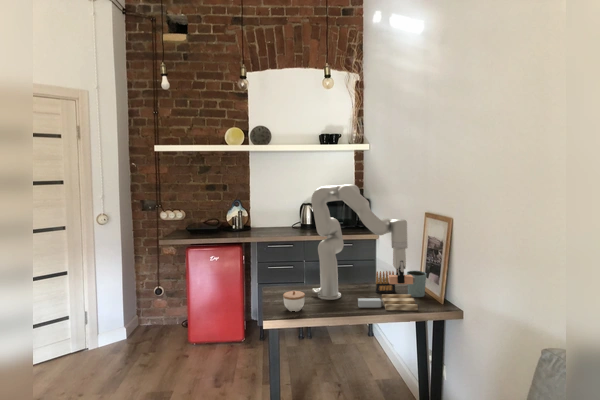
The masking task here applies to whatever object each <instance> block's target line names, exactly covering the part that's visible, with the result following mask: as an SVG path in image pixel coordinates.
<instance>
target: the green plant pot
mask: <svg viewBox="0 0 600 400" xmlns="http://www.w3.org/2000/svg"><path fill="white" fill-rule="evenodd" d="M406 275H412V276H414V277H415V283H413V284H406V285H407V294H411V298H422V297H425V293H426V284H427V283H426V282H427V273H426V272H425V271H422V270H409V271H406Z"/></svg>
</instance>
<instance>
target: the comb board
mask: <svg viewBox="0 0 600 400" xmlns="http://www.w3.org/2000/svg"><path fill="white" fill-rule="evenodd" d="M381 300H383V307H384V308H385V311H419V309H418V307H419V305H418V303H417V304H416V300H415V298H414V297H412V296H411V294H408V293H407V294H404V293H403V294H393V293H392V294H388V293H386V294H381Z"/></svg>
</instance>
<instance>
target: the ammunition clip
mask: <svg viewBox="0 0 600 400" xmlns="http://www.w3.org/2000/svg"><path fill="white" fill-rule="evenodd" d="M389 275H395V271H394V270H392V272H391V270H389V271H388V270H386V271H384V270H383V271H381V270H380V271H379V272H378V270H377V271H376V275H375V293H376V294H377V293H378V294H379V293H380V294H381V293H396V284H389Z"/></svg>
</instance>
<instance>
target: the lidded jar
mask: <svg viewBox="0 0 600 400" xmlns="http://www.w3.org/2000/svg"><path fill="white" fill-rule="evenodd" d="M305 296H306V294H305V292H303V291H300V290H290V291H286V292H284V293H283V295H282V297H283V304H284V307H285V308H286V309H287V310H288V311H289V312H292V311H295V312H300V311H301V309H302V308H303V307H304V305H305V300H306V299H305Z"/></svg>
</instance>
